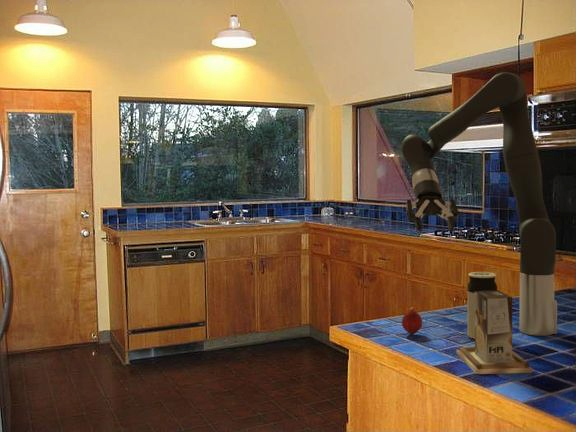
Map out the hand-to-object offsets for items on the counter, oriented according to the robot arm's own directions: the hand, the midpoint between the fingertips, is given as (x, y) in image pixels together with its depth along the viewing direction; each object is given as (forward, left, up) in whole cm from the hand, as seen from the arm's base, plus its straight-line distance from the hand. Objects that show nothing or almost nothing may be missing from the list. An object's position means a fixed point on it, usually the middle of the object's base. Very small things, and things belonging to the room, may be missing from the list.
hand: (436, 229), depth 170 cm
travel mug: (-13, 0, -31) cm, 34 cm away
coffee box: (-8, +22, -30) cm, 38 cm away
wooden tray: (-8, +23, -31) cm, 39 cm away
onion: (+6, -4, -31) cm, 32 cm away
